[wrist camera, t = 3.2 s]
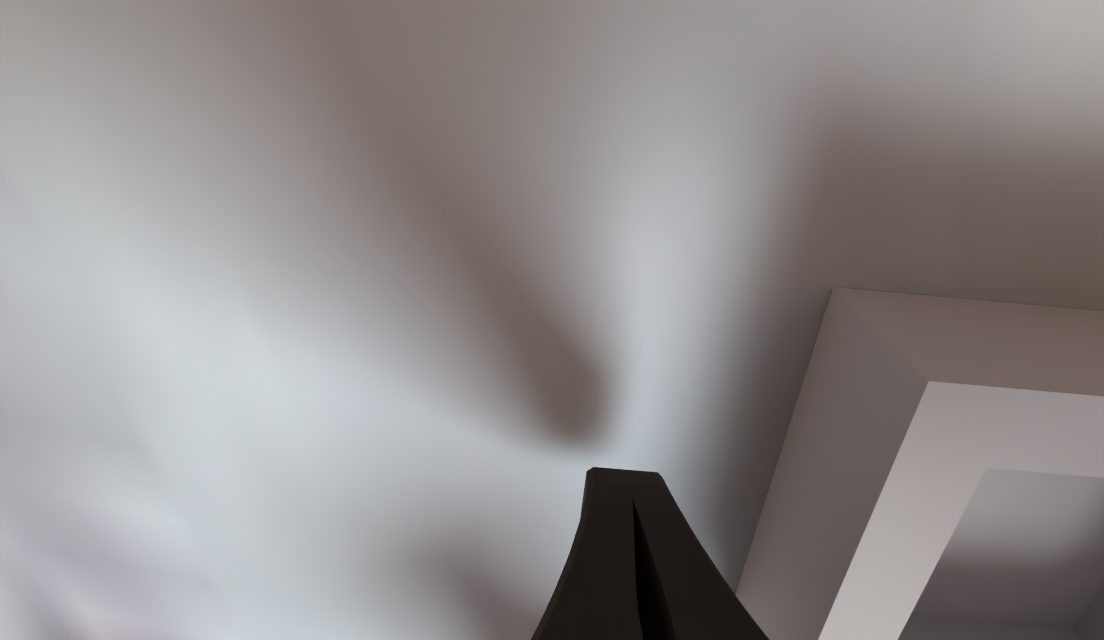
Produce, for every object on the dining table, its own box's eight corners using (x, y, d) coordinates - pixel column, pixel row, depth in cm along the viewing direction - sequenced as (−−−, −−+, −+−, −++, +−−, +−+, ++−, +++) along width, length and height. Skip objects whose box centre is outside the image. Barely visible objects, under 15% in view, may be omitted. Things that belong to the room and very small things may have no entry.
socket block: (1069, 629, 15) (1204, 792, 12) (726, 600, 15) (768, 755, 12) (1286, 321, 11) (1574, 438, 8) (825, 279, 11) (928, 381, 8)
